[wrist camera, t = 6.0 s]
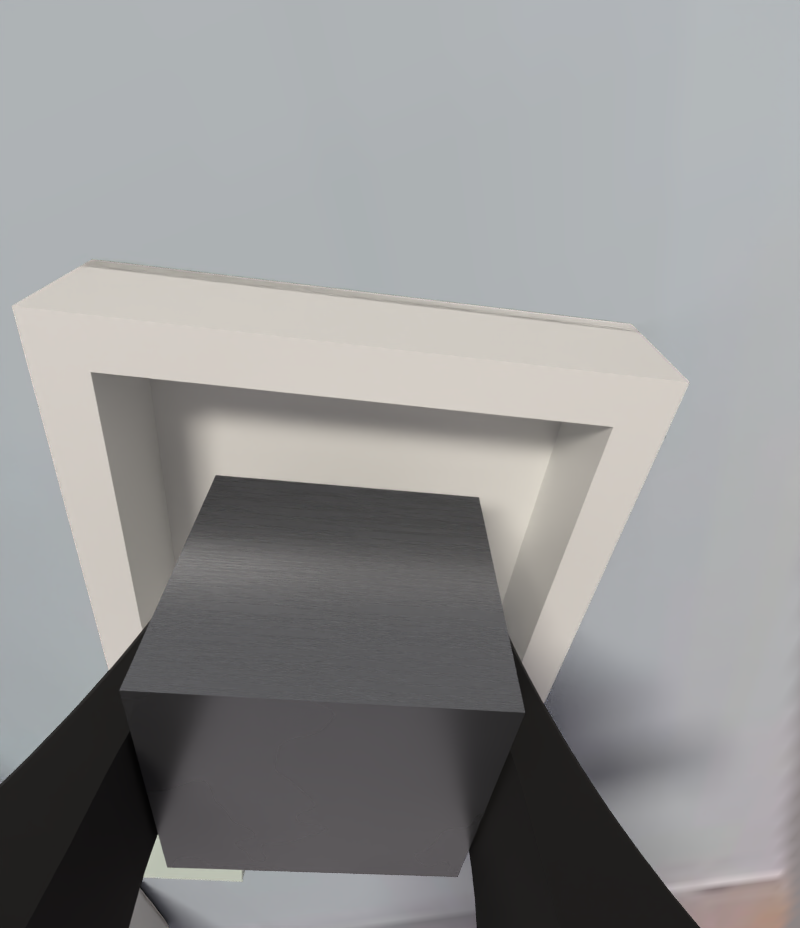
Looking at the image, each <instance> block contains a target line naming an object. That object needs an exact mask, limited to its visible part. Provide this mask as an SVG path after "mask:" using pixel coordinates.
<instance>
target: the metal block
mask: <svg viewBox="0 0 800 928" xmlns="http://www.w3.org/2000/svg"><path fill="white" fill-rule="evenodd" d="M119 691H120V695H121V699H122V703H123V706H124V710H125V714H126V717H127V721H128V725H129V728H130V732H131V736H132V740H133V743H134V747H135V751H136V754H137V758H138V762H139V765H140V769H141V773H142V776H143V780H144V784H145V788H146V791H147V795H148V799H149V802H150V806H151V810H152V813H153V817H154V821H155V825H156V828H157V832H158V836H159V839H160V843H161V847H162V850H163V854H164V858H165V861H166V865H167V868H196V869H227V870H259V871H290V872H321V873H353V874H384V875H416V876H447V877H458V875H459V872H460V870H461V868H462V865H463V863H464V860H465V858H466V855H467V853H468V851H469V848H470V846H471V843H472V841H473V838H474V836H475V834H476V831H477V829H478V826H479V824H480V821H481V819H482V817H483V814H484V812H485V809H486V807H487V804H488V802H489V800H490V797H491V795H492V792H493V790H494V787H495V785H496V783H497V780H498V778H499V775H500V773H501V770H502V768H503V766H504V763H505V761H506V758H507V756H508V753H509V751H510V749H511V746H512V744H513V741H514V739H515V736H516V734H517V732H518V729H519V727H520V724H521V722H522V719H523V717H524V715H525V709H524V705H523V700H522V695H521V691H520V686H519V681H518V677H517V672H516V667H515V663H514V658H513V653H512V649H511V644H510V639H509V635H508V630H507V625H506V621H505V616H504V612H503V607H502V602H501V598H500V593H499V588H498V584H497V579H496V574H495V570H494V565H493V560H492V556H491V551H490V546H489V542H488V537H487V532H486V528H485V523H484V518H483V514H482V509H481V505H480V500H479V497H471V496H459V495H447V494H435V493H423V492H411V491H399V490H387V489H376V488H364V487H352V486H340V485H328V484H316V483H304V482H292V481H280V480H269V479H257V478H245V477H233V476H221V475H216V476H215V478H214V480H213V482H212V484H211V487H210V489H209V491H208V493H207V496H206V498H205V500H204V502H203V505H202V507H201V509H200V511H199V514H198V516H197V518H196V520H195V522H194V525H193V527H192V529H191V531H190V534H189V536H188V538H187V540H186V543H185V545H184V547H183V549H182V551H181V554H180V556H179V558H178V560H177V563H176V565H175V567H174V569H173V572H172V574H171V576H170V578H169V580H168V583H167V585H166V587H165V589H164V592H163V594H162V596H161V598H160V601H159V603H158V605H157V607H156V610H155V612H154V614H153V616H152V618H151V621H150V623H149V625H148V627H147V630H146V632H145V634H144V636H143V639H142V641H141V643H140V645H139V647H138V650H137V652H136V654H135V656H134V659H133V661H132V663H131V665H130V668H129V670H128V672H127V674H126V677H125V679H124V681H123V683H122V685H121V688H120V690H119Z"/></svg>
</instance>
